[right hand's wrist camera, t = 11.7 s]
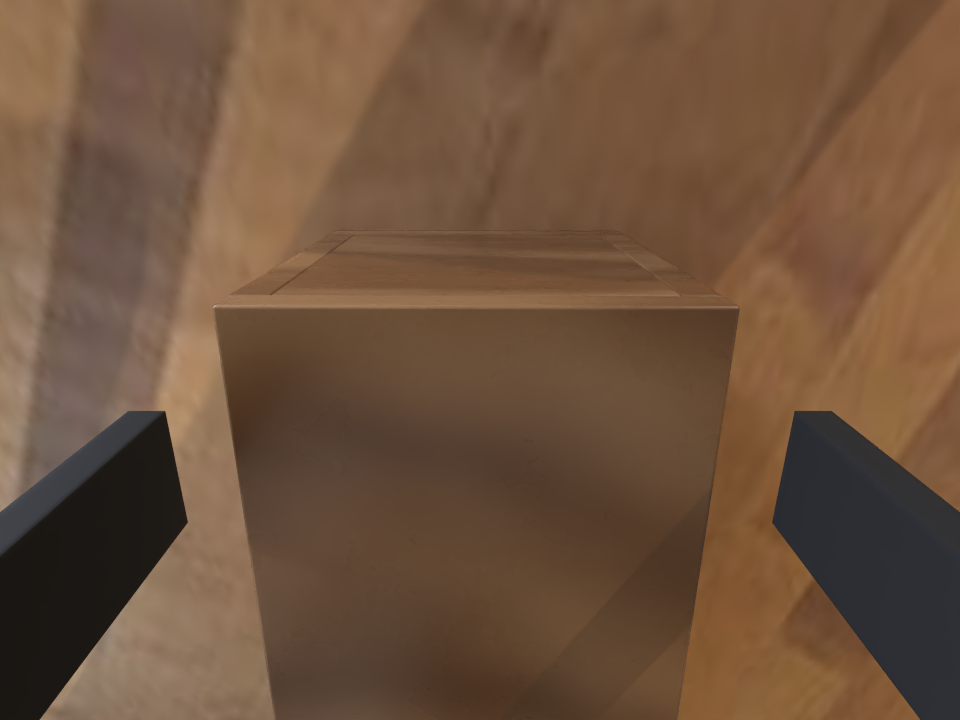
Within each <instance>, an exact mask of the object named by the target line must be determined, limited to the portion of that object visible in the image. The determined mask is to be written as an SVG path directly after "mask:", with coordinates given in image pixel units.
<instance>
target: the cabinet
mask: <svg viewBox="0 0 960 720" xmlns="http://www.w3.org/2000/svg"><path fill="white" fill-rule="evenodd" d="M213 314H214V321H215V327H216V334H217V341H218V347H219V354H220V360H221V367H222V374H223V380H224V387H225V393H226V400H227V407H228V413H229V420H230V426H231V433H232V440H233V446H234V453H235V459H236V466H237V473H238V479H239V486H240V492H241V499H242V506H243V512H244V519H245V526H246V532H247V539H248V545H249V552H250V559H251V565H252V572H253V578H254V585H255V592H256V598H257V605H258V611H259V618H260V625H261V631H262V638H263V644H264V651H265V658H266V664H267V671H268V677H269V684H270V691H271V697H272V704H273V710H274V717H275V720H677V717H678V710H679V703H680V697H681V690H682V684H683V677H684V671H685V664H686V657H687V651H688V644H689V638H690V631H691V625H692V618H693V611H694V605H695V598H696V592H697V585H698V579H699V572H700V565H701V559H702V552H703V546H704V539H705V533H706V526H707V519H708V513H709V506H710V500H711V493H712V487H713V480H714V473H715V467H716V460H717V454H718V447H719V441H720V434H721V427H722V421H723V414H724V408H725V401H726V395H727V388H728V381H729V375H730V368H731V362H732V355H733V349H734V342H735V335H736V329H737V322H738V316H739V306H737V305H736V304H734V303H733V302H731V301H729V300H728V299H726V298H725V297H722V295H720V294H719V293H717V292H715V291H714V290H712V289H710V288H709V287H707V286H706V285H704V284H702V283H701V282H699V281H698V280H696V279H694V278H693V277H691V276H690V275H688V274H686V273H685V272H683V271H681V270H680V269H678V268H677V267H675V266H673V265H672V264H670V263H669V262H667V261H665V260H664V259H662V258H660V257H659V256H657V255H656V254H654V253H652V252H651V251H649V250H648V249H646V248H644V247H643V246H641V245H639V244H638V243H636V242H635V241H633V240H631V239H630V238H628V237H627V236H625V235H623V234H622V233H620V232H618V231H335V232H333V233H332V234H330V235H328V236H326V237H325V238H323V239H321V240H320V241H318V242H316V243H315V244H313V245H312V246H310V247H308V248H307V249H305V250H303V251H302V252H300V253H298V254H297V255H295V256H293V257H292V258H290V259H288V260H287V261H285V262H283V263H282V264H280V265H278V266H277V267H275V268H273V269H272V270H270V271H268V272H267V273H265V274H263V275H262V276H260V277H258V278H257V279H255V280H253V281H252V282H250V283H248V284H247V285H245V286H244V287H242V288H240V289H239V290H237V291H235V292H234V293H232V294H230V296H228V297H226V298H225V299H223V300H221V301H220V302H218V303H216V304H215V305H213Z"/></svg>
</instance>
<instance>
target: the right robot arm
mask: <svg viewBox="0 0 960 720" xmlns="http://www.w3.org/2000/svg"><path fill="white" fill-rule="evenodd" d="M187 523H188V521H187V516H186V511H185V506H184V501H183V497H182V492H181V487H180V482H179V477H178V472H177V467H176V462H175V457H174V452H173V447H172V442H171V437H170V433H169V428H168V423H167V418H166V413H165V411H128V412H127V413H125V414H124V415H123V416H122V417H120V418H119V419H118V420H117V421H115V422H114V423H113V424H112V425H110V426H109V427H108V428H106V429H105V430H104V431H103V432H101V433H100V434H99V435H98V436H96V437H95V438H94V439H93V440H91V441H90V442H89V443H87V444H86V445H85V446H84V447H82V448H81V449H80V450H79V451H77V452H76V453H75V454H74V455H72V456H71V457H70V458H68V459H67V460H66V461H65V462H63V463H62V464H61V465H60V466H58V467H57V468H56V469H55V470H53V471H52V472H51V473H49V474H48V475H47V476H46V477H44V478H43V479H42V480H41V481H39V482H38V483H37V484H35V485H34V486H33V487H32V488H30V489H29V490H28V491H27V492H25V493H24V494H23V495H22V496H20V497H19V498H18V499H16V500H15V501H14V502H13V503H11V504H10V505H9V506H8V507H6V508H5V509H4V510H3V511H1V512H0V720H40V718H41V717H42V716H43V714H44V713H45V712H46V710H47V709H48V708H49V706H50V705H51V704H52V702H53V701H54V700H55V698H56V697H57V696H58V694H59V693H60V692H61V690H62V689H63V688H64V686H65V685H66V684H67V682H68V681H69V680H70V678H71V677H72V676H73V674H74V673H75V672H76V670H77V669H78V668H79V666H80V665H81V664H82V662H83V661H84V660H85V658H86V657H87V656H88V654H89V653H90V652H91V650H92V649H93V648H94V646H95V645H96V644H97V642H98V641H99V640H100V638H101V637H102V636H103V634H104V633H105V632H106V630H107V629H108V628H109V627H110V625H111V624H112V623H113V621H114V620H115V619H116V617H117V616H118V615H119V613H120V612H121V611H122V609H123V608H124V607H125V605H126V604H127V603H128V601H129V600H130V599H131V597H132V596H133V595H134V593H135V592H136V591H137V589H138V588H139V587H140V585H141V584H142V583H143V581H144V580H145V579H146V577H147V576H148V575H149V573H150V572H151V571H152V569H153V568H154V567H155V565H156V564H157V563H158V561H159V560H160V559H161V557H162V556H163V555H164V553H165V552H166V551H167V549H168V548H169V547H170V545H171V544H172V543H173V541H174V540H175V539H176V537H177V536H178V535H179V533H180V532H181V531H182V529H183V528H184V527H185V525H186V524H187ZM772 523H773V524H774V525H775V527H776V528H777V529H778V531H779V532H780V533H781V535H782V536H783V537H784V539H785V540H786V541H787V543H788V544H789V545H790V547H791V548H792V549H793V551H794V552H795V553H796V555H797V556H798V557H799V559H800V560H801V561H802V563H803V564H804V565H805V567H806V568H807V569H808V571H809V572H810V573H811V575H812V576H813V577H814V579H815V580H816V581H817V583H818V584H819V585H820V587H821V588H822V589H823V591H824V592H825V593H826V595H827V596H828V597H829V599H830V600H831V601H832V603H833V604H834V605H835V607H836V608H837V609H838V611H839V612H840V613H841V615H842V616H843V617H844V619H845V620H846V621H847V623H848V624H849V625H850V627H851V628H852V629H853V630H854V632H855V633H856V634H857V636H858V637H859V638H860V640H861V641H862V642H863V644H864V645H865V646H866V648H867V649H868V650H869V652H870V653H871V654H872V656H873V657H874V658H875V660H876V661H877V662H878V664H879V665H880V666H881V668H882V669H883V670H884V672H885V673H886V674H887V676H888V677H889V678H890V680H891V681H892V682H893V684H894V685H895V686H896V688H897V689H898V690H899V692H900V693H901V694H902V696H903V697H904V698H905V700H906V701H907V702H908V704H909V705H910V706H911V708H912V709H913V710H914V712H915V713H916V714H917V716H918V717H919V718H920V720H960V512H959V511H957V510H956V509H955V508H954V507H952V506H951V505H950V504H949V503H947V502H946V501H945V500H944V499H942V498H941V497H940V496H938V495H937V494H936V493H935V492H933V491H932V490H931V489H930V488H928V487H927V486H926V485H925V484H923V483H922V482H921V481H919V480H918V479H917V478H916V477H914V476H913V475H912V474H911V473H909V472H908V471H907V470H905V469H904V468H903V467H902V466H900V465H899V464H898V463H897V462H895V461H894V460H893V459H892V458H890V457H889V456H888V455H886V454H885V453H884V452H883V451H881V450H880V449H879V448H878V447H876V446H875V445H874V444H873V443H871V442H870V441H869V440H867V439H866V438H865V437H864V436H862V435H861V434H860V433H859V432H857V431H856V430H855V429H854V428H852V427H851V426H850V425H848V424H847V423H846V422H845V421H843V420H842V419H841V418H840V417H838V416H837V415H836V414H835V413H833V412H832V411H795V413H794V418H793V423H792V428H791V432H790V437H789V442H788V447H787V452H786V457H785V462H784V467H783V472H782V477H781V482H780V487H779V492H778V497H777V501H776V506H775V511H774V516H773V521H772Z"/></svg>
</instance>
